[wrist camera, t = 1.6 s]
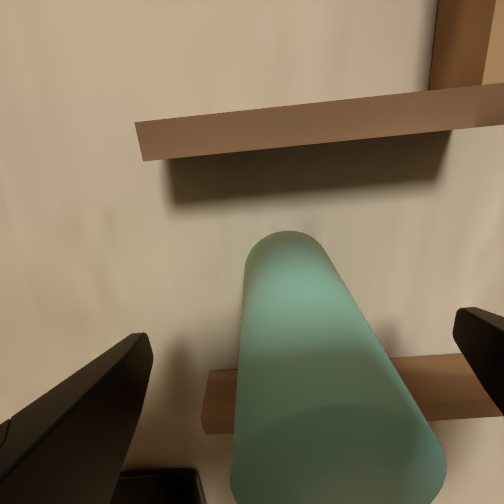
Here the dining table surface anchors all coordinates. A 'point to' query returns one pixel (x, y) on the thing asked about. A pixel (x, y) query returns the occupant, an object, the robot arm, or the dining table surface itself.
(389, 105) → the channel
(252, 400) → the peg
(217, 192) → the dining table surface
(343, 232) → the dining table surface
